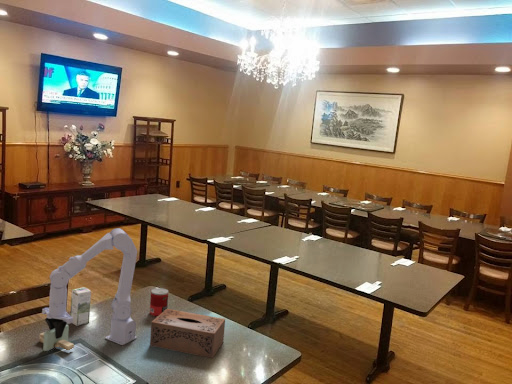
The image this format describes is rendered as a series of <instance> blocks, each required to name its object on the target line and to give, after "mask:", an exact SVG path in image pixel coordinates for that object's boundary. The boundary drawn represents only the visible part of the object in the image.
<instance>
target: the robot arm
mask: <svg viewBox="0 0 512 384" xmlns="http://www.w3.org/2000/svg"><path fill="white" fill-rule="evenodd" d="M114 248H116V249H117V250H118V251H121V252H122V254H123V256H122V262H121V263H122V264H121V270H120V274H119V279H118V280H119V281H118V286H117V292H115V295H114V298H113V300H112V301H111V303H110V304H111V305H110V307H111V309H112V311H113V312H112V314H111V317H110V333H109V335H107V336H105V337H104V338H105V340H108V341H111V342H113V343H114V344H115V343H116V344H118V345H121V346H124V345H126V344H128V343H130V342H132V341H133V340H136V339H137V338H138V337H137V336H136V332H137V331H136V330H137V323H136V321H135V320H133V319H132V317H131V314H132V308H131V305H132V304H131V302H132V301H131V291H132V285H133V279H134V274H135V270H136V269H135V268H136V262H137V257H138V249H137V248H136V245H135V243H134V241H133V239H132V237H131V236H130V235H129V234H128V233H127V232H126V231H124V229H123V228H119V227H118V228H113V229H112V230H111V231H110V232H107V233H106V234H104V236H103V237H101V238H100V239H99V240H98V241H97V242H95V243H94V244H93V245H92V246H91V247H89V248H88V249H87V250H85V251H84V252H83V253H82V254H81V255H75V256H70V257H69V258H68V261H66V262H65V263H63V264H62V265H59V266H58V267H57V268H56V269H54V270H52V271H51V273H50V275H49V280H50V285H49V287H50V290H49V302H48V303H49V304H48V306H49V307H44V308H42V310H41V313H42V314H43V315H46V318H44V320H45V322H46V324H47V326H48V329H49V330H51V329H54V328H55V336H56V339H58V338H61V337H62V334H63V331H64V329H65V327H66V325H70V324H73V323H72V322H73V317H71V316H70V314H69V313H68V312H67V299H68V298H67V297H68V296H67V294H68V289H67V285H68V283H69V280H71V279H72V278H73V277H75V276H76V275H77V274H79V273H80V272H81V271H83V270H85V268H86V267H87V263H88V262H89V261H90V260H92V259H94V258H95V257H96V256H97V255H99V254H101V253H102V252H103V251H105V250H114Z"/></svg>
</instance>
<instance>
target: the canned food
mask: <svg viewBox="0 0 512 384" xmlns="http://www.w3.org/2000/svg"><path fill="white" fill-rule="evenodd" d="M149 300H150V301H149V302H150V303H149V315H151V316H152V317H155V316H156V317H155V318H157V317H158V316H159V315H160V314H161V313H162V312H164V311H165V310H166V309H168V306H169V305H168V304H169V290H168V289H166V288H163V287H155V288H152V289H151V291H150V299H149Z"/></svg>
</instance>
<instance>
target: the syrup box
mask: <svg viewBox="0 0 512 384" xmlns="http://www.w3.org/2000/svg"><path fill="white" fill-rule="evenodd" d="M91 295H92V291H91V290H90V289H89V288H87V287H85V286H84V287H83V286H82V287H80V288H74V289H71V299H70V314H69V315H70V316H71V317H73V322H72V323H71V324H73V325H75V326H76V327H79V326H82V325H85V324H88V323H90V314H91V313H90V312H91V299H92V298H91V297H92V296H91Z"/></svg>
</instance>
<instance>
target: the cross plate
mask: <svg viewBox="0 0 512 384" xmlns="http://www.w3.org/2000/svg"><path fill="white" fill-rule="evenodd" d="M69 326H70V324H67V325H66V327H65V329H64V331H63V334H62V337H61V338H58V339H56V336H55V328H54V329H51V330H50V329H49V330H47V331H44V343H43V344H42V345H43V347H42V349H43V352H45V351H46V350H49V349H51V348H54V343H56V342H57V341H59V340H62V339H63V340H66V341H68V342H69V332H70V331H69V328H70V327H69ZM54 349H55V348H54Z"/></svg>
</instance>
